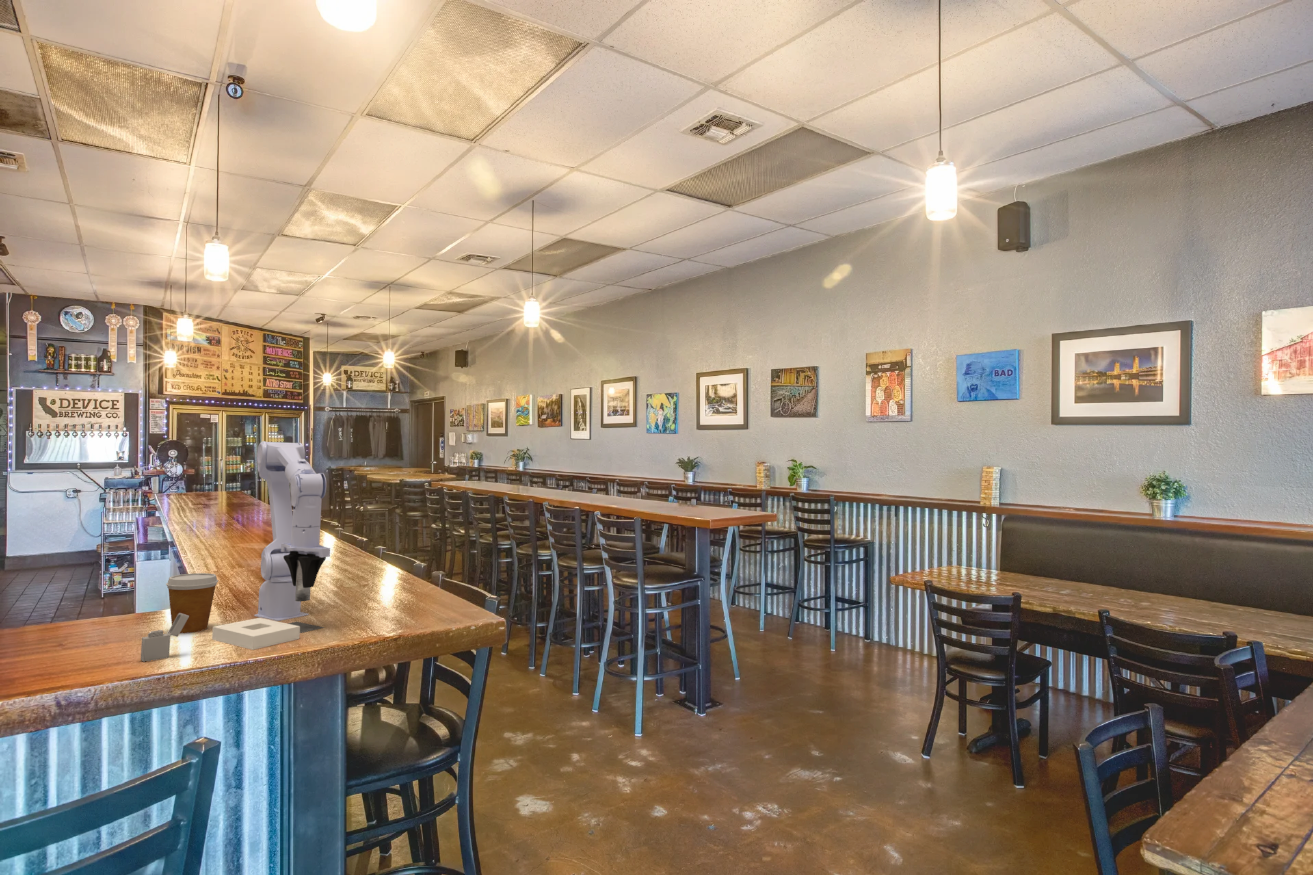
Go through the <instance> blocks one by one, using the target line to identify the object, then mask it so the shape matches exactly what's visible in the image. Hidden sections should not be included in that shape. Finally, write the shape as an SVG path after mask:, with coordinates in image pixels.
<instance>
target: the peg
mask: <svg viewBox="0 0 1313 875" xmlns="http://www.w3.org/2000/svg"><path fill="white" fill-rule="evenodd" d="M311 589H312V587H309V588H303V582H302V569H301V565H300V562H299V560H297V572H296V593H295V601H301V602H308V601H310V600H311V591H312V590H311Z"/></svg>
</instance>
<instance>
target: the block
mask: <svg viewBox="0 0 1313 875" xmlns="http://www.w3.org/2000/svg"><path fill="white" fill-rule="evenodd" d="M300 634H301V633H300V626H296V625H291V624H287V623H286V622H282V621H275V620H270V619H266V618H261V617H257V618H251V619H246V620H240V621H236V622H230V623H225V624H219V625H216V626H212V634H211V635H212V636H211V640H213V641H216V642H219V643H225V644H227V645H228V644H229V645H231V646H232V645H233V646H237V647H240V648H243V649H247V650H251V651H254V650H259V649H263V648H267V647H270V646H275V645H280V644H283V643H288V642H292V641H296V640H300Z"/></svg>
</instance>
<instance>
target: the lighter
mask: <svg viewBox="0 0 1313 875" xmlns="http://www.w3.org/2000/svg"><path fill="white" fill-rule="evenodd" d="M188 618H189V616H188V615H186V614H182V613H179V614H178V615H177V617H176V619H175V621H174V622H173V624H172V623H171V626H170V628H169V630H168V631H167V633H164V630H163V629H158V630H152V631H150V632H148V633H147V636H143V637H141V646H140V647H141V648H140V650H141V651H140V661H141V660H142V661H143V662H142V661H141V662H142V663H146V662H145V661H148V662H151V660H153V661H157V660H163V659H164V660H165V659H168V658H170V649H171V648H170V647H171V646H170V645H171V636H173V637H178V636H180V634H181V633H180V632H181V630H182V628H183V626H184V625H185V623H186V621H187V619H188Z"/></svg>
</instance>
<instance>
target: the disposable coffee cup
mask: <svg viewBox="0 0 1313 875" xmlns="http://www.w3.org/2000/svg"><path fill="white" fill-rule="evenodd" d="M217 578H218V577H217V575H216V574H215V573H208V572H207V573H206V572H204V573H203V572H197V573H195V572H194V573H184V574H176V575H171V576H169V577H168V580H167V582H166V583H165V586H166V587H167V589H168V597H169V609H170V619H171V620H170V621H171V625H172V624H173V622H174V621H175V619H176V617H177V615H178V614H179V613H182V614H186V615H188V616H189V618H188V619H187V621H186V623H185V625H184V626H183V628H182V630H181V632H180V633H179V634H191V633H197V632H201V631H205V630H208V626H209V621H210V617H211V616H210V615H211V611H212V605H213V601H214V595H215V590H216V586H217V585H218V583H219V580H218V579H217Z"/></svg>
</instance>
